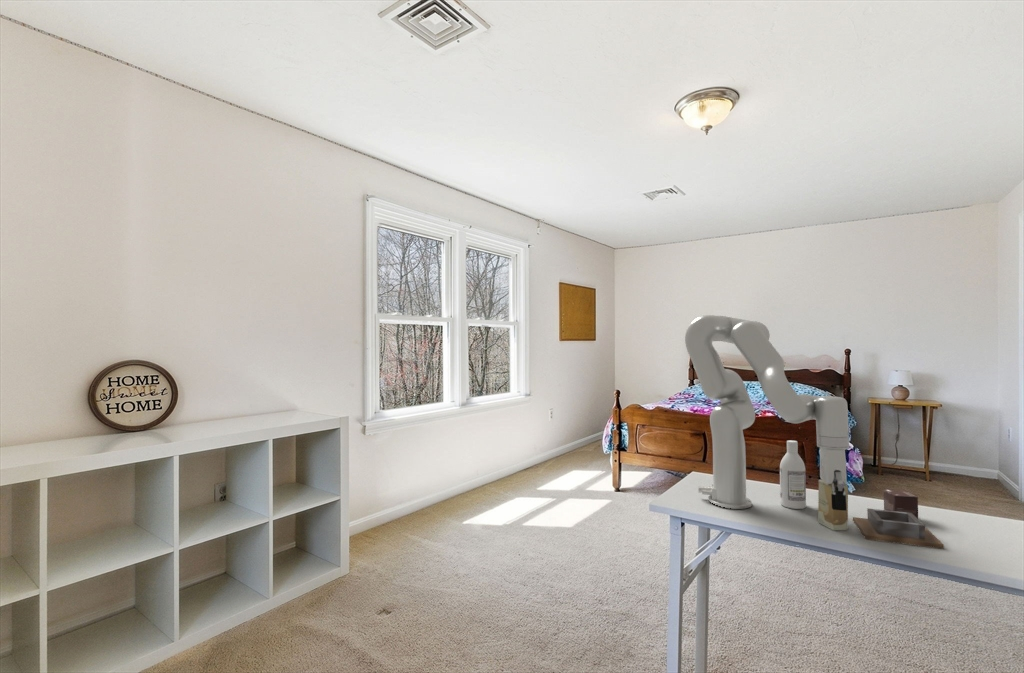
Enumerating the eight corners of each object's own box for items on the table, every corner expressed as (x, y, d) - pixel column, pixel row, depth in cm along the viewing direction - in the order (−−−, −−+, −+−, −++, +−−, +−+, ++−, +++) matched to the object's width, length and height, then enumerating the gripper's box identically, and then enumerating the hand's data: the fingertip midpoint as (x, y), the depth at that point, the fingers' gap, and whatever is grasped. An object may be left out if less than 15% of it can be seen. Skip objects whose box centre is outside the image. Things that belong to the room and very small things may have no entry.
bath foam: (811, 508, 153) (810, 442, 153) (794, 510, 150) (793, 444, 150) (791, 501, 159) (790, 438, 159) (775, 503, 157) (774, 440, 157)
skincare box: (817, 522, 141) (816, 479, 141) (832, 521, 141) (831, 478, 141) (834, 531, 134) (833, 485, 134) (849, 530, 135) (848, 485, 135)
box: (919, 523, 140) (918, 496, 140) (894, 521, 141) (894, 495, 141) (906, 515, 146) (906, 490, 146) (883, 514, 147) (882, 489, 147)
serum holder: (865, 539, 129) (865, 521, 129) (852, 520, 142) (852, 504, 142) (943, 548, 123) (943, 530, 123) (922, 528, 136) (922, 511, 136)
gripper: (811, 435, 147) (814, 494, 147) (822, 447, 131) (825, 512, 131) (841, 436, 144) (844, 496, 144) (856, 448, 128) (859, 515, 128)
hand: (835, 504), depth 137 cm, fingers open, 9 cm apart
